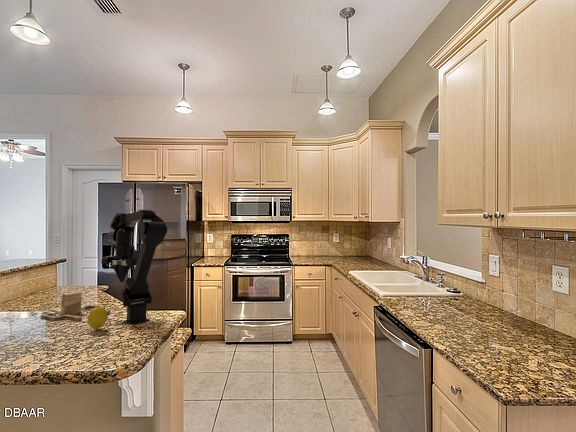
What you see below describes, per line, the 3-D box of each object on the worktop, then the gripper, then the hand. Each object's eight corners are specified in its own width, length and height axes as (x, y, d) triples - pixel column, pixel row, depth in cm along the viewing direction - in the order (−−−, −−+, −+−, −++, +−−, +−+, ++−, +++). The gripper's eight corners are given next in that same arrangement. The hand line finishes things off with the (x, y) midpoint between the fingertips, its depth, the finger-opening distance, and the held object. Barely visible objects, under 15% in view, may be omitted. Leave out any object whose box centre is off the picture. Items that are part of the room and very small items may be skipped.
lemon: (110, 327, 104) (111, 304, 105) (98, 332, 99) (99, 307, 99) (95, 327, 105) (96, 303, 105) (82, 332, 99) (84, 307, 100)
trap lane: (118, 311, 126) (118, 308, 126) (67, 323, 108) (67, 320, 108) (83, 306, 136) (83, 303, 136) (31, 316, 118) (31, 313, 118)
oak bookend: (80, 312, 126) (81, 292, 126) (65, 315, 120) (66, 294, 121) (64, 309, 130) (65, 290, 131) (48, 312, 125) (50, 292, 125)
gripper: (156, 243, 127) (155, 281, 126) (125, 242, 135) (123, 278, 134) (133, 243, 117) (131, 284, 116) (101, 243, 125) (99, 281, 124)
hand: (122, 282), depth 123 cm, fingers closed
